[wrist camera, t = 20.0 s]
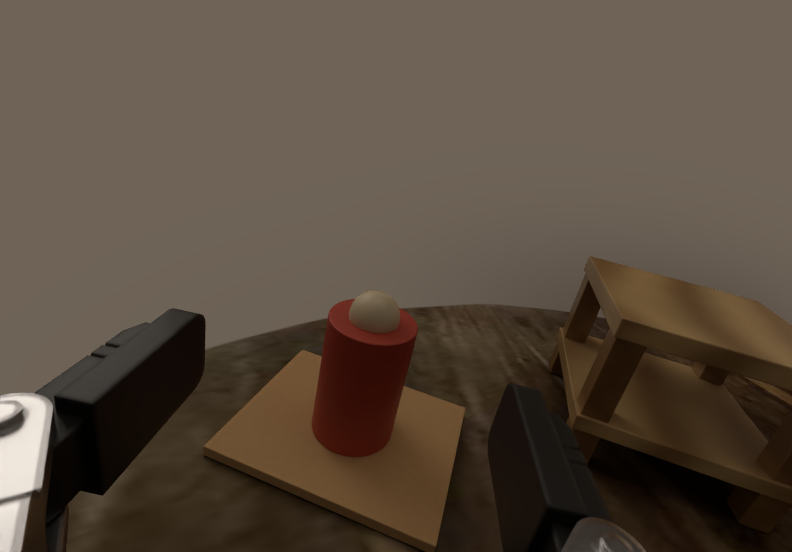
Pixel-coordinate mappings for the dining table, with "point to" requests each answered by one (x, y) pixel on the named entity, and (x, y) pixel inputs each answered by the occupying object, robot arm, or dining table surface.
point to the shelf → (679, 381)
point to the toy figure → (362, 373)
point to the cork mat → (342, 475)
